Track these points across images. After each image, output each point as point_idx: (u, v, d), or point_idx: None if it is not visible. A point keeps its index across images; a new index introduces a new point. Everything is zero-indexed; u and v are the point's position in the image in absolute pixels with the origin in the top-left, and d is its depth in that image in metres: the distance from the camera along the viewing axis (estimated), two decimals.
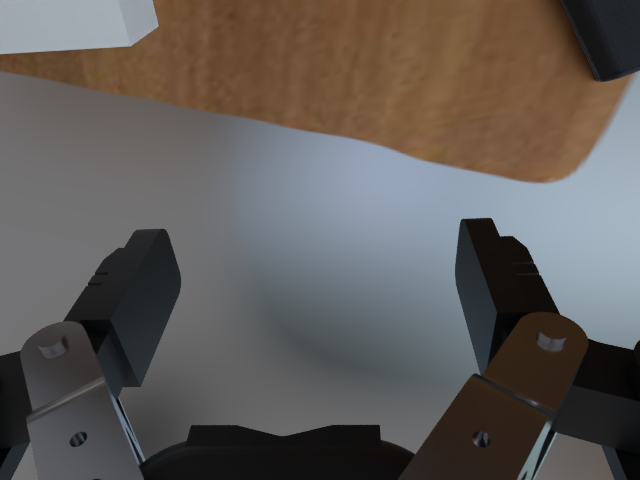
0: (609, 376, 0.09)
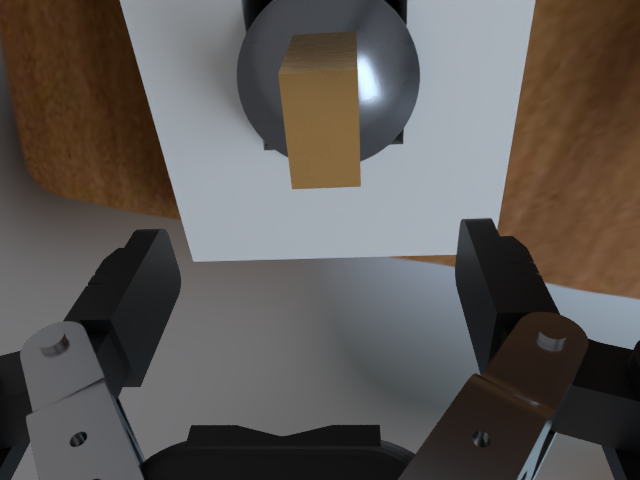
0: (609, 376, 0.09)
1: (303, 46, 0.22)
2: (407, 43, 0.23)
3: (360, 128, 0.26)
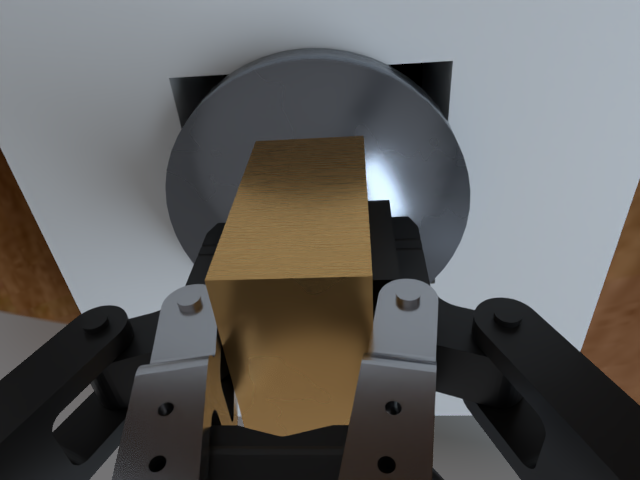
0: (456, 333, 0.10)
1: (269, 178, 0.12)
2: (451, 155, 0.14)
3: None
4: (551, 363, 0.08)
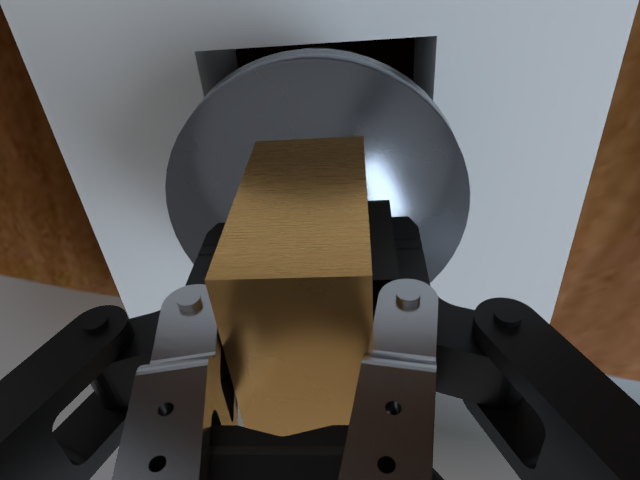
0: (456, 333, 0.10)
1: (269, 178, 0.12)
2: (451, 155, 0.14)
3: None
4: (551, 363, 0.08)
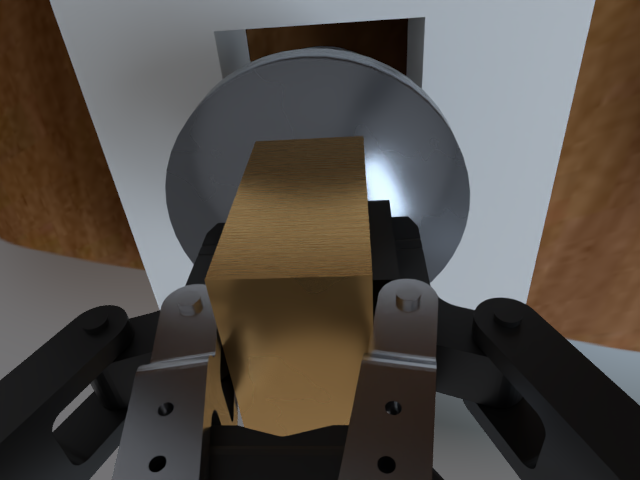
0: (456, 333, 0.10)
1: (269, 178, 0.12)
2: (451, 155, 0.14)
3: None
4: (551, 363, 0.08)
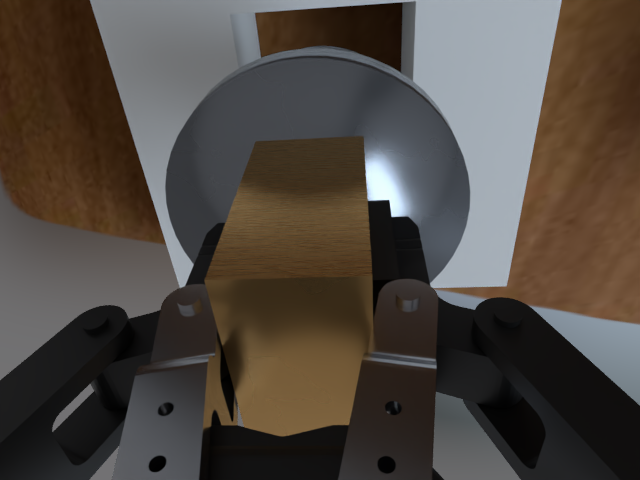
0: (456, 333, 0.10)
1: (269, 178, 0.12)
2: (451, 155, 0.14)
3: None
4: (551, 363, 0.08)
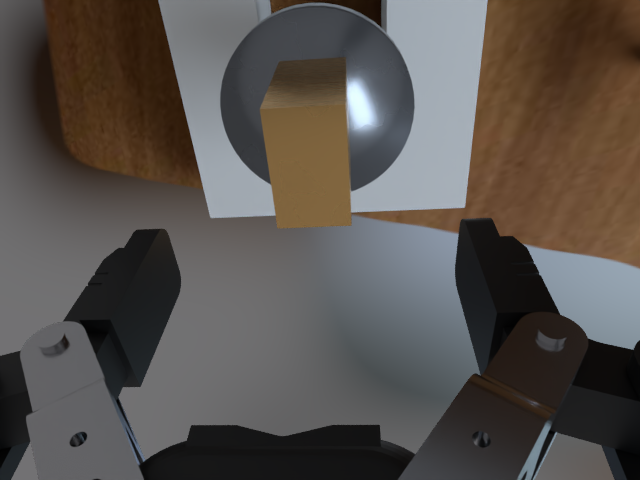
0: (609, 376, 0.09)
1: (289, 75, 0.20)
2: (400, 69, 0.22)
3: (352, 157, 0.25)
4: None
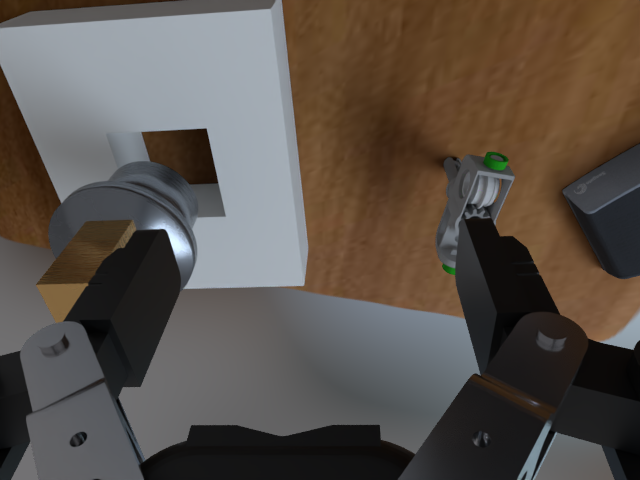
0: (609, 376, 0.09)
1: (80, 241, 0.28)
2: (174, 227, 0.30)
3: None
4: None
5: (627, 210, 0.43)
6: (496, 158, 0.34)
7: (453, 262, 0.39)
